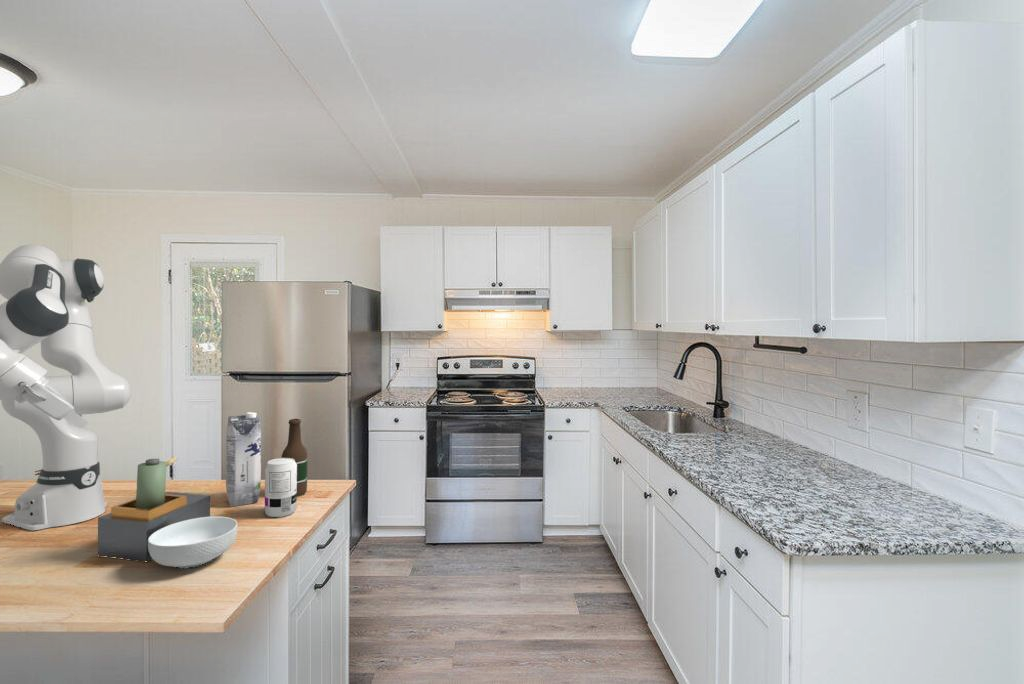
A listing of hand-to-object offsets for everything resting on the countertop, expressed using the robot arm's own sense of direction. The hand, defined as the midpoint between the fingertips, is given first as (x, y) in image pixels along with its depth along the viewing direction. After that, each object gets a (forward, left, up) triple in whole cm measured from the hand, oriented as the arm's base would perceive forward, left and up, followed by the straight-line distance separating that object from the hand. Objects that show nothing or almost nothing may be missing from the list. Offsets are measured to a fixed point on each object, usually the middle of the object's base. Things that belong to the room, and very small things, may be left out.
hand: (82, 422), depth 106 cm
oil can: (+9, +9, -22) cm, 26 cm away
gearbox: (+6, +11, -31) cm, 34 cm away
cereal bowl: (+23, +6, -32) cm, 40 cm away
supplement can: (+25, +34, -32) cm, 53 cm away
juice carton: (+8, +40, -32) cm, 52 cm away
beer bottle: (+19, +49, -32) cm, 62 cm away
